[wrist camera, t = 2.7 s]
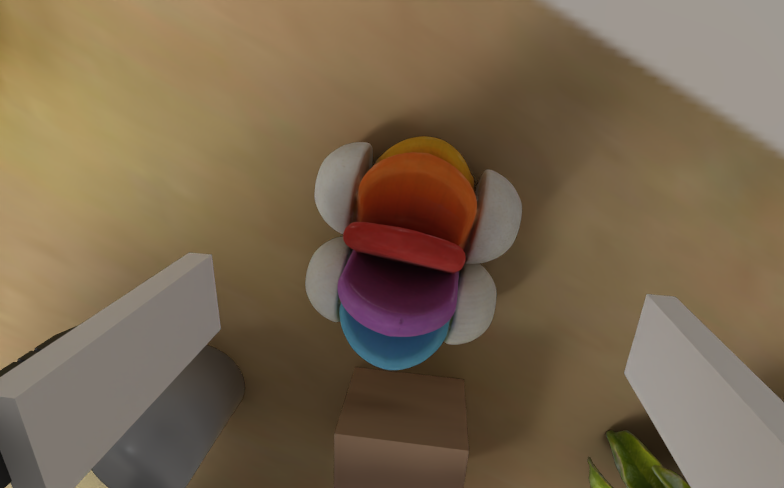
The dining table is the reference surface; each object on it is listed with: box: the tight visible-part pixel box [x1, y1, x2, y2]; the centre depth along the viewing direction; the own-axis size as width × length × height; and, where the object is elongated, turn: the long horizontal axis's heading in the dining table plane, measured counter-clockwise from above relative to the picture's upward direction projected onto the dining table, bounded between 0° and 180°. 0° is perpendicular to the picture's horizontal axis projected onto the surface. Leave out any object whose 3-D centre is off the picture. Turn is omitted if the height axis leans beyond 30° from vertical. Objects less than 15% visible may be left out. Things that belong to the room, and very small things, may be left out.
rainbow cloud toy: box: [305, 136, 522, 370], centre depth 17 cm, size 8×10×7 cm
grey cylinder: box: [92, 345, 245, 488], centre depth 23 cm, size 5×5×6 cm
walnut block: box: [334, 367, 469, 488], centre depth 22 cm, size 6×6×5 cm
